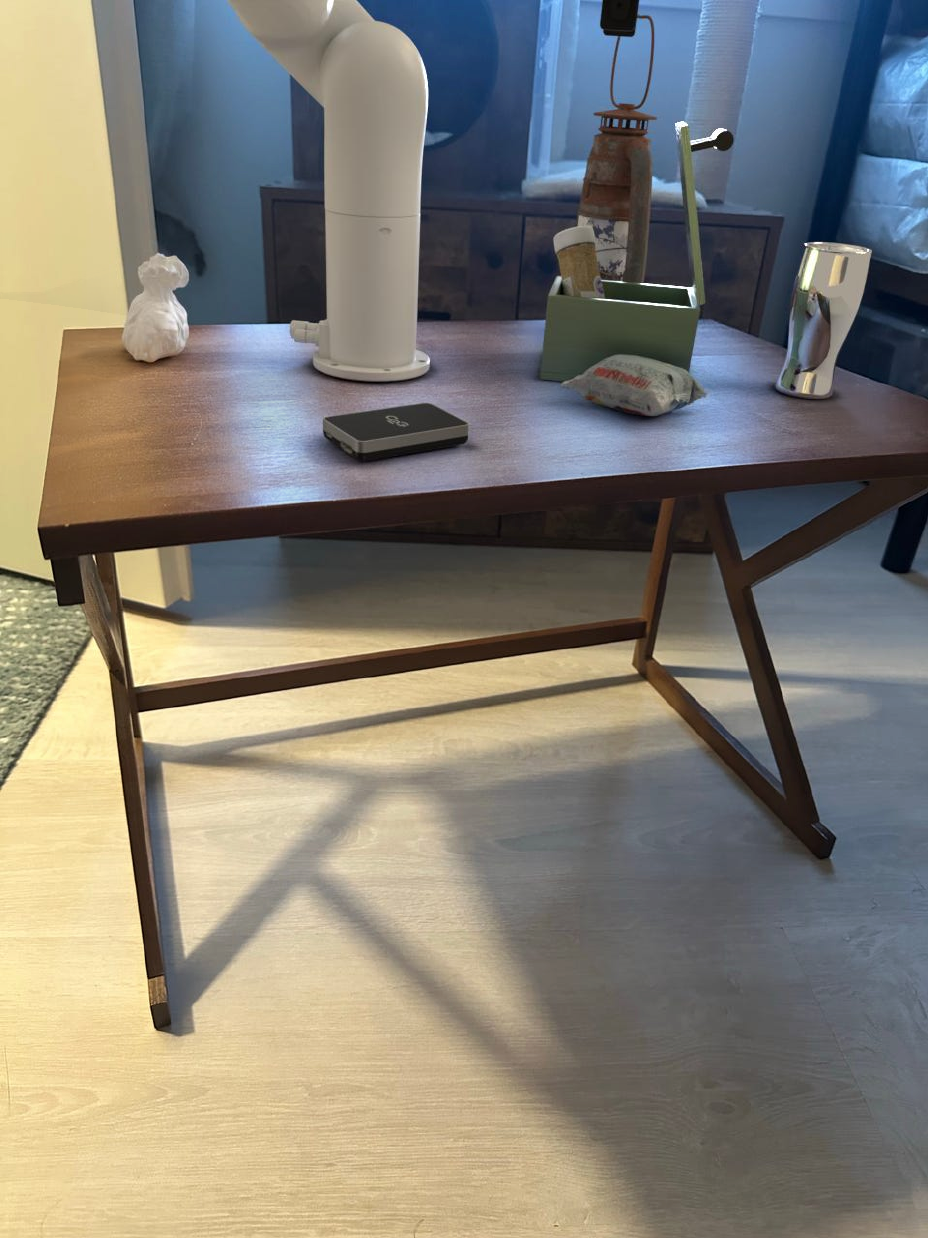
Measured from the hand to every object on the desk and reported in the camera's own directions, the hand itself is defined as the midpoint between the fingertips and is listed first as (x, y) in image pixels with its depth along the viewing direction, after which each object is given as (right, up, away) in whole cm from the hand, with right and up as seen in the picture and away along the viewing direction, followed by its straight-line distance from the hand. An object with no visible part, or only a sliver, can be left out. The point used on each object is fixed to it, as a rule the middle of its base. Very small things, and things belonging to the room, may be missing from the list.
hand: (617, 32), depth 89 cm
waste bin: (+2, -28, +16) cm, 33 cm away
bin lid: (+8, -14, +7) cm, 18 cm away
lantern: (+2, -20, +31) cm, 37 cm away
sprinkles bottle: (0, -27, +15) cm, 31 cm away
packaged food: (+2, -36, +4) cm, 36 cm away
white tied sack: (-48, -28, +11) cm, 56 cm away
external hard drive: (-21, -41, -9) cm, 47 cm away
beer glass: (+23, -31, +14) cm, 41 cm away
